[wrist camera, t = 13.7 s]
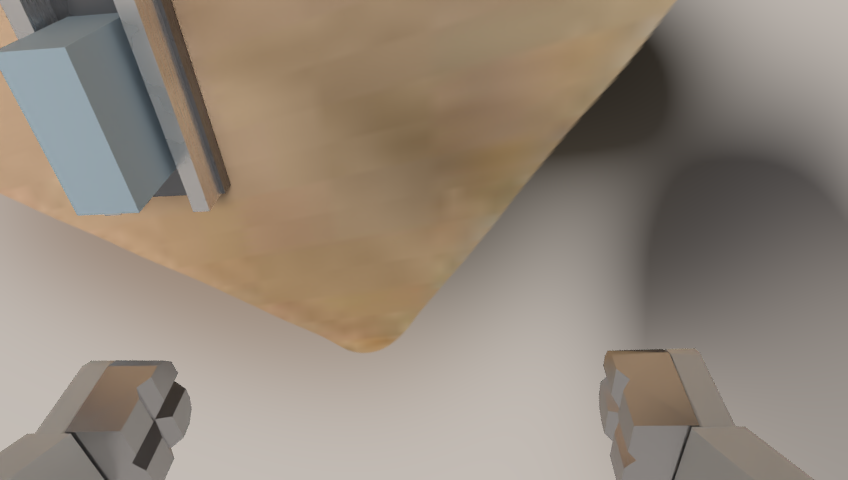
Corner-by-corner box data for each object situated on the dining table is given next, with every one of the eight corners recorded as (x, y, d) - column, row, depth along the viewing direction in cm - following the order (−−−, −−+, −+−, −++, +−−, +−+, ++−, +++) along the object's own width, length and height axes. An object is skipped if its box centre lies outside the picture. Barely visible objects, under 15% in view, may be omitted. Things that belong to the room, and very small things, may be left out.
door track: (21, -39, 34) (-20, -27, 31) (154, -50, 33) (125, -39, 30) (124, 190, 43) (100, 215, 40) (230, 185, 42) (213, 210, 39)
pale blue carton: (130, 161, 40) (77, 215, 34) (67, 16, 34) (-9, 52, 29) (183, 158, 40) (139, 212, 34) (129, 11, 34) (64, 47, 28)
